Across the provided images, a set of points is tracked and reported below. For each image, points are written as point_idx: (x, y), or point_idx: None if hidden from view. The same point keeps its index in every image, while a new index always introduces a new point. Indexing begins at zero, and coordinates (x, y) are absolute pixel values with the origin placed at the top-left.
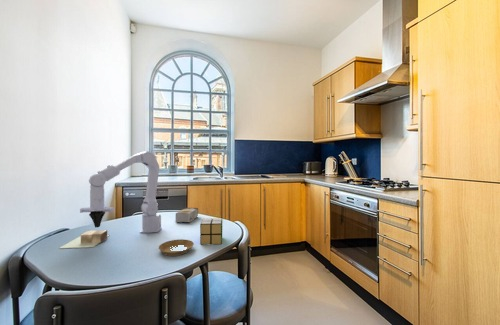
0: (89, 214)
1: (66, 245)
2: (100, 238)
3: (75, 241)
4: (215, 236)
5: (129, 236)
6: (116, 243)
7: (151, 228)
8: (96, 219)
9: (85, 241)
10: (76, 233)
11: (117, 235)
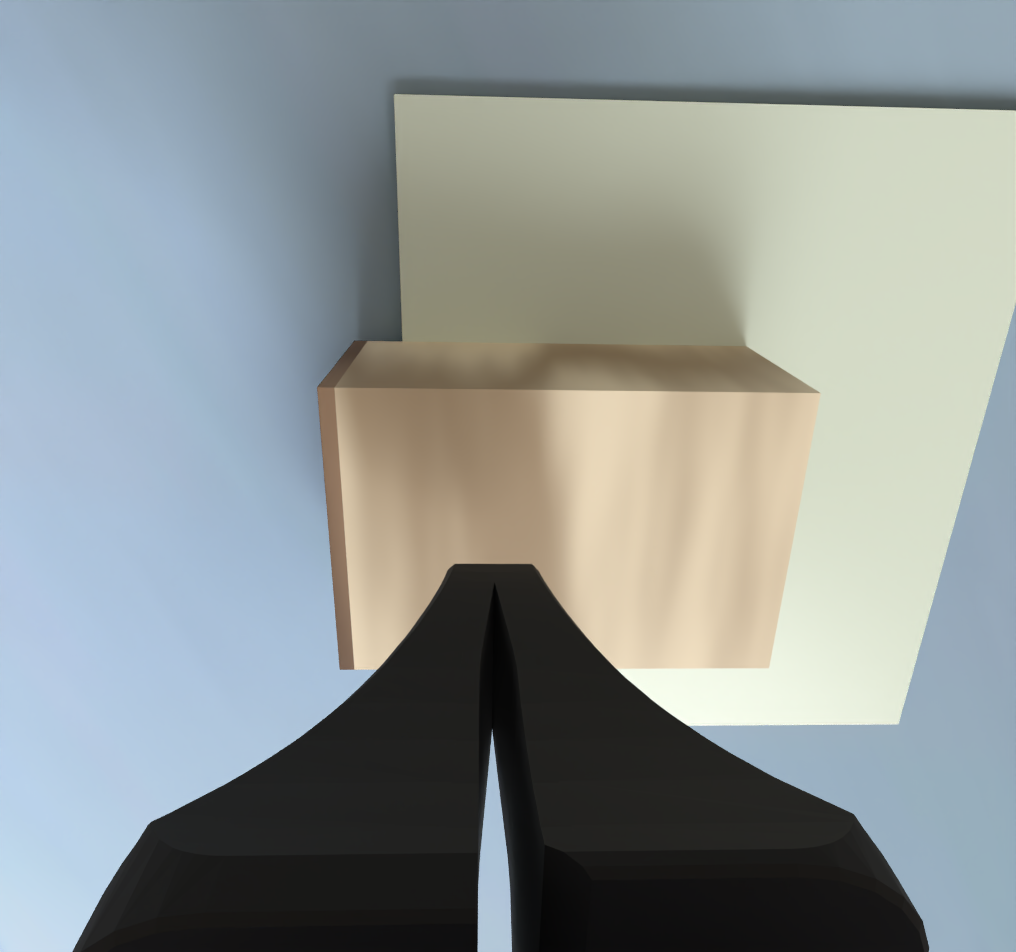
0: (875, 869)
1: (972, 252)
2: (356, 361)
3: (883, 462)
4: None
5: (17, 643)
6: (24, 280)
7: None
8: (454, 693)
9: (664, 350)
10: (1008, 851)
11: (280, 711)
